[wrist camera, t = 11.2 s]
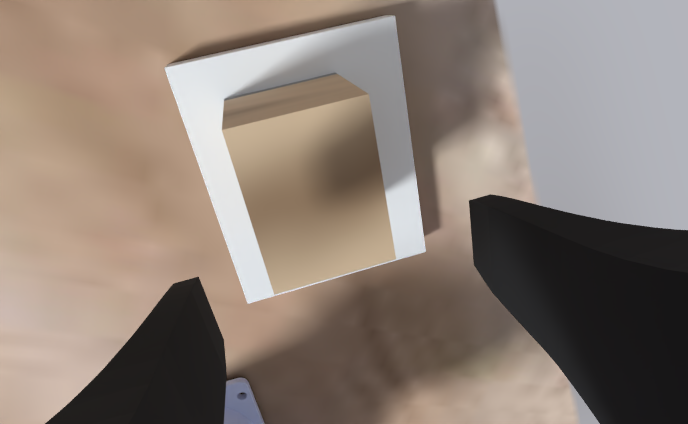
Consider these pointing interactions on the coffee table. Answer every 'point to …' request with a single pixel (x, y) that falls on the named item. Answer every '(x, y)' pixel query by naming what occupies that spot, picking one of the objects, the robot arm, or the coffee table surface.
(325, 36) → the board
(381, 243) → the block
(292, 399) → the coffee table surface
